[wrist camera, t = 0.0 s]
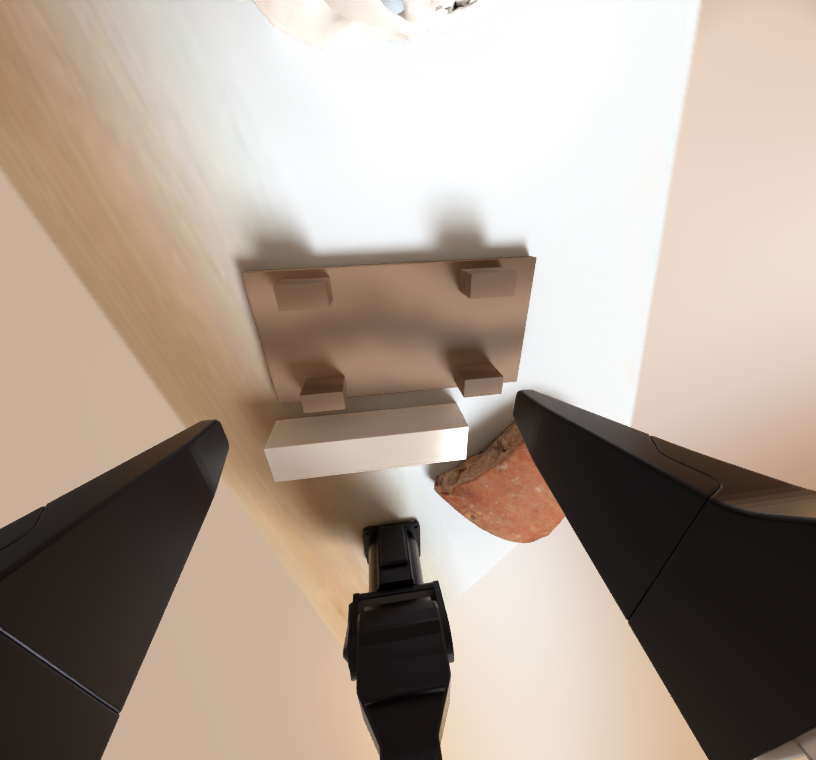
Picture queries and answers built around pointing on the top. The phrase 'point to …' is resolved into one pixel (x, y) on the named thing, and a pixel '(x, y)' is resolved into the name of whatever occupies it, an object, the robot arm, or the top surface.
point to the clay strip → (366, 441)
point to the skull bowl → (369, 19)
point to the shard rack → (391, 327)
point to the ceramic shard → (502, 491)
